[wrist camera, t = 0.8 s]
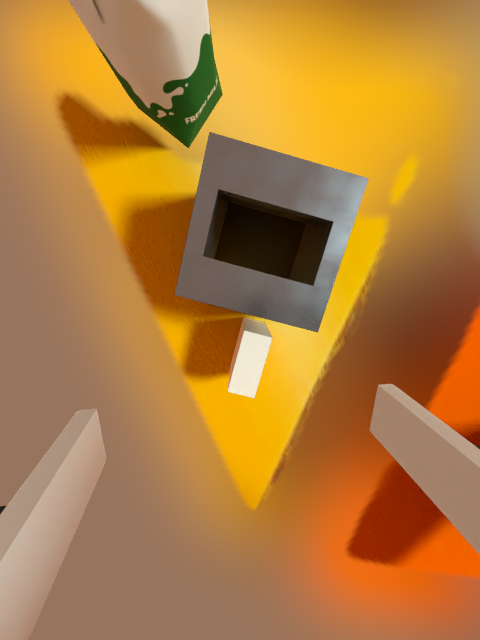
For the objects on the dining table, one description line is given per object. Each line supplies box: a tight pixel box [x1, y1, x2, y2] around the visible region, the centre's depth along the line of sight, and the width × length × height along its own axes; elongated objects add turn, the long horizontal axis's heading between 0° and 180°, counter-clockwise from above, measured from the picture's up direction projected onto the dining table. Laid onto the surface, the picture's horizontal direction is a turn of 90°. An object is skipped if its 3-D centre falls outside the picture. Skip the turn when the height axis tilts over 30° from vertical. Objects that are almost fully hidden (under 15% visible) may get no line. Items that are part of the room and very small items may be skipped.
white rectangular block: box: [228, 317, 272, 398], centre depth 30 cm, size 7×3×8 cm, turn 165°
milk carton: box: [69, 0, 222, 148], centre depth 19 cm, size 9×9×20 cm
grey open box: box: [175, 132, 368, 332], centre depth 26 cm, size 12×12×13 cm
